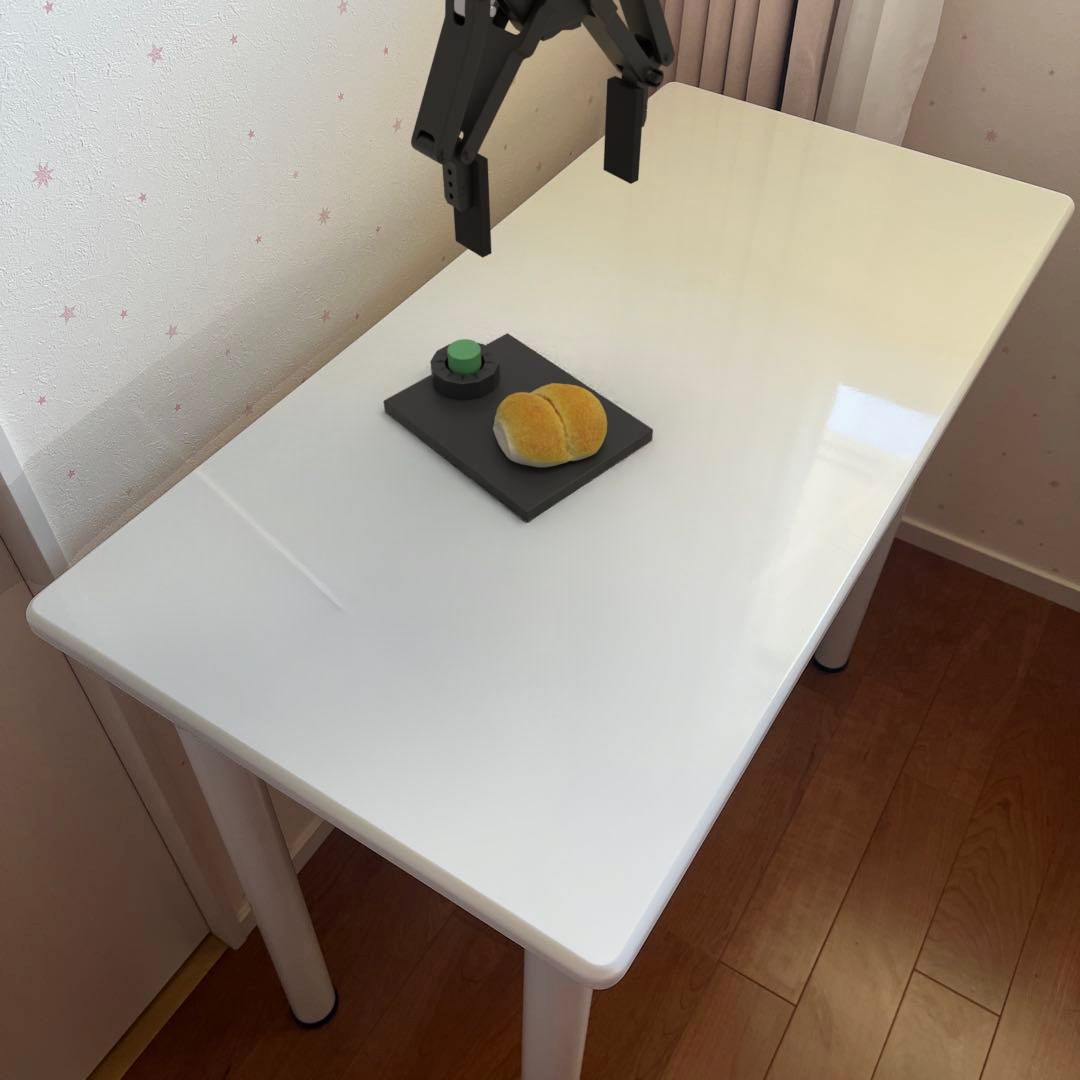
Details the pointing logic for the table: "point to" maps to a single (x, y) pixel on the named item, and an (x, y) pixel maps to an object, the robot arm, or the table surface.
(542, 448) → the bread roll
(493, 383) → the scale
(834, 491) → the table surface
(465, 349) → the button
